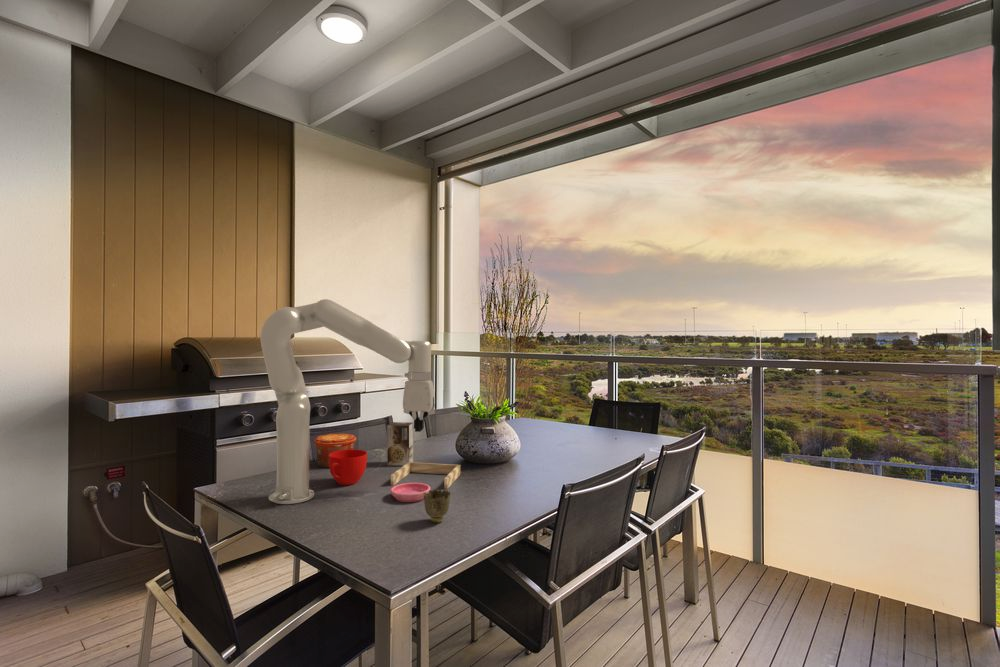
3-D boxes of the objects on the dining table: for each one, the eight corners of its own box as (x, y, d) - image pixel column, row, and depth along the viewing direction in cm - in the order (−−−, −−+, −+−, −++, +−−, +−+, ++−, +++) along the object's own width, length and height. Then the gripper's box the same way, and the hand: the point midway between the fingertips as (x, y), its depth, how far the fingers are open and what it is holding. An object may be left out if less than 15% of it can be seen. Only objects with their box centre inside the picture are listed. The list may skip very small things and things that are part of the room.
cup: (437, 514, 147) (437, 486, 147) (455, 520, 143) (455, 492, 142) (417, 521, 141) (417, 493, 141) (436, 528, 137) (436, 498, 137)
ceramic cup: (313, 489, 169) (314, 459, 169) (341, 475, 185) (341, 448, 185) (349, 493, 166) (349, 462, 166) (373, 478, 182) (374, 450, 182)
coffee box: (413, 462, 205) (414, 422, 205) (409, 466, 199) (409, 425, 199) (391, 461, 206) (392, 421, 206) (386, 465, 200) (386, 424, 200)
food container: (346, 457, 213) (346, 431, 213) (362, 465, 200) (363, 437, 200) (307, 463, 203) (308, 436, 203) (322, 471, 190) (322, 443, 190)
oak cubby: (447, 489, 171) (447, 478, 171) (390, 485, 174) (390, 475, 174) (460, 474, 189) (460, 464, 189) (408, 471, 192) (408, 461, 192)
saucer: (383, 497, 163) (383, 487, 163) (416, 489, 171) (416, 479, 171) (403, 507, 154) (403, 496, 154) (437, 498, 162) (438, 488, 162)
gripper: (394, 377, 170) (393, 432, 171) (437, 378, 168) (436, 434, 168) (402, 375, 178) (401, 428, 178) (443, 376, 175) (443, 430, 175)
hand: (418, 430), depth 173 cm, fingers closed
